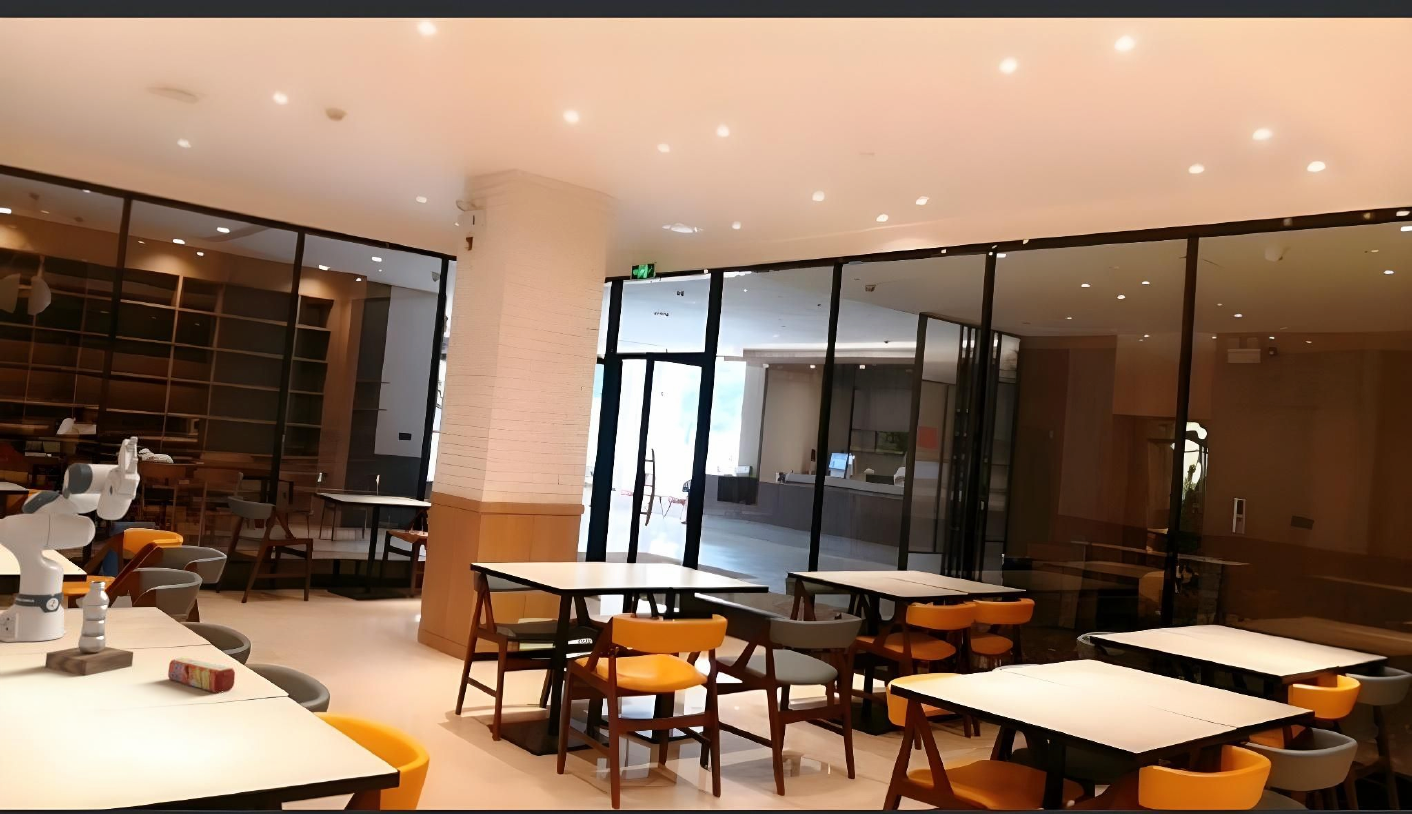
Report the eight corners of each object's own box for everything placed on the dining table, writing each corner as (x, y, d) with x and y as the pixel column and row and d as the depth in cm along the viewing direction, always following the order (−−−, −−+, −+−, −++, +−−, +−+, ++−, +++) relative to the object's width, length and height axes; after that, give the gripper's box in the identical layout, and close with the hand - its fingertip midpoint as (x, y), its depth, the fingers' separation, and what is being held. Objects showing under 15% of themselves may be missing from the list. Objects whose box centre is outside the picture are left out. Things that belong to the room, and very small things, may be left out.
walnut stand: (45, 667, 264) (46, 652, 264) (92, 658, 277) (94, 644, 277) (85, 675, 258) (86, 660, 258) (132, 665, 271) (133, 651, 271)
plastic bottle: (92, 655, 264) (100, 584, 265) (71, 653, 265) (78, 582, 266) (110, 651, 270) (117, 581, 271) (89, 648, 271) (96, 579, 272)
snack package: (164, 681, 259) (167, 656, 259) (187, 677, 265) (190, 653, 265) (212, 695, 249) (215, 669, 249) (235, 690, 254) (238, 665, 255)
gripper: (133, 459, 309) (145, 428, 303) (134, 502, 295) (146, 470, 290) (111, 457, 305) (123, 425, 299) (111, 500, 291) (123, 468, 286)
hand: (134, 448), depth 294 cm, fingers open, 8 cm apart
